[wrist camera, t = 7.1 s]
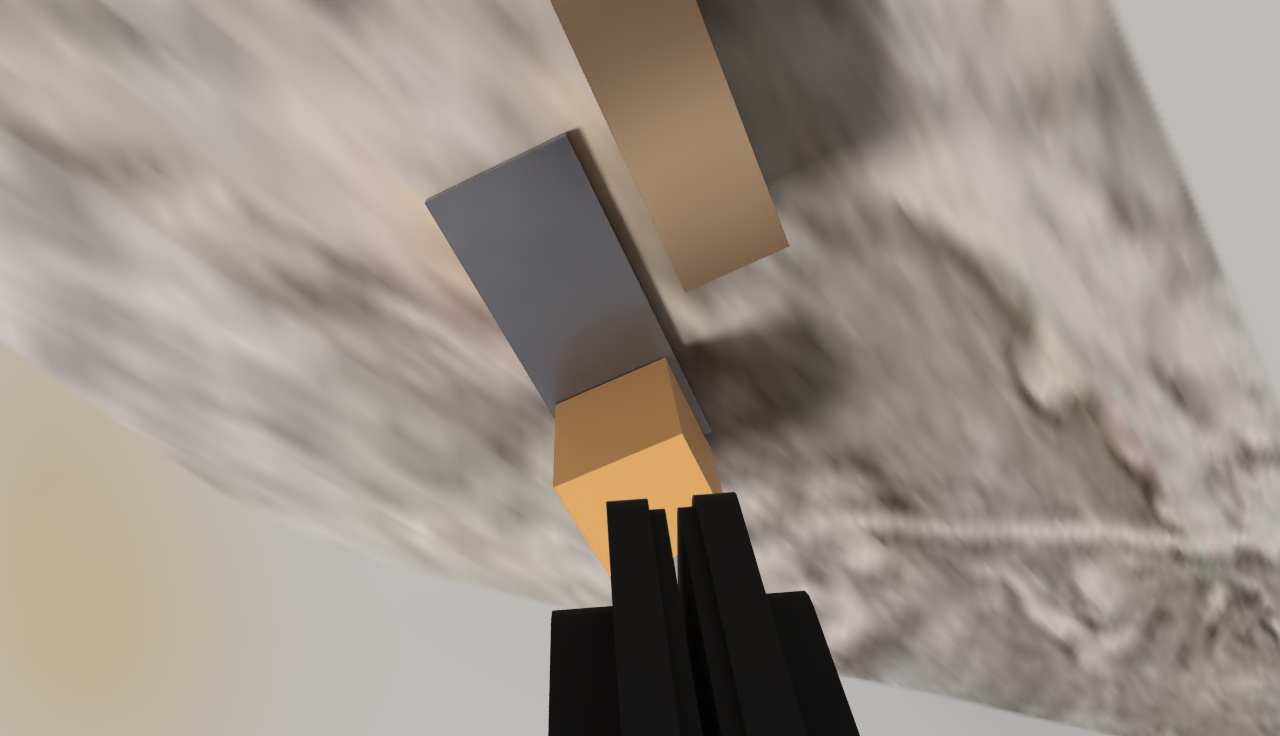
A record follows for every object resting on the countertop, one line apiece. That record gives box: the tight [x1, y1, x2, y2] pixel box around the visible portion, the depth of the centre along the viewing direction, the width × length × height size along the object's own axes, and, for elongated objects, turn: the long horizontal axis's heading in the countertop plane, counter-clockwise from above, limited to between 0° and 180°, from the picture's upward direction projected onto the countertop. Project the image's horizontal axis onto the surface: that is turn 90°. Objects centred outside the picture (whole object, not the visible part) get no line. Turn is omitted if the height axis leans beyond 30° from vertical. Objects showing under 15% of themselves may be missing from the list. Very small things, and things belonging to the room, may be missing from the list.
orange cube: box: [553, 358, 723, 578], centre depth 23 cm, size 4×4×4 cm
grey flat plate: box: [425, 133, 712, 435], centre depth 23 cm, size 10×4×1 cm, turn 24°
